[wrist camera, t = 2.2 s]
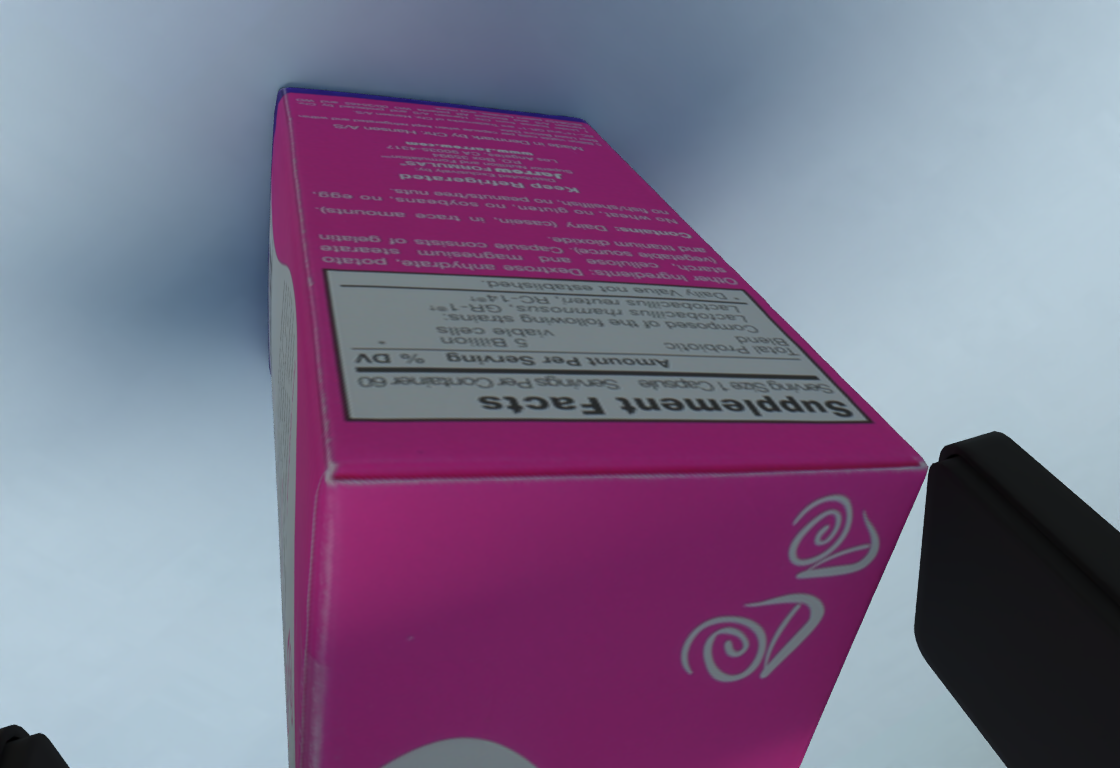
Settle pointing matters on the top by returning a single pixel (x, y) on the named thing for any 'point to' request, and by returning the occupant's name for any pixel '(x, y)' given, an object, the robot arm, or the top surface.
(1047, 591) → the robot arm
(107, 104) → the top surface
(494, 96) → the top surface
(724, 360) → the supplement box
